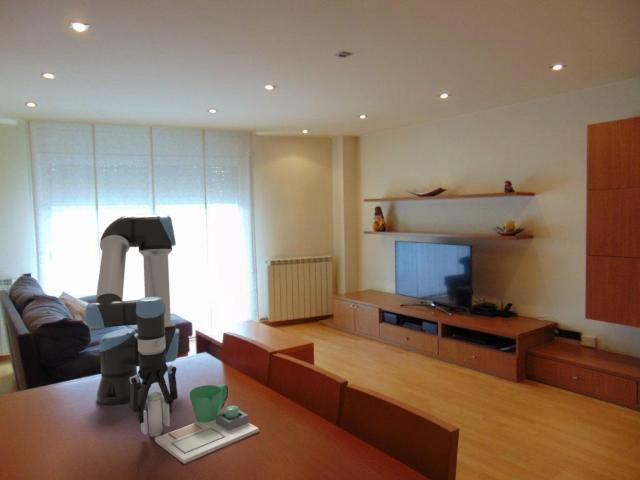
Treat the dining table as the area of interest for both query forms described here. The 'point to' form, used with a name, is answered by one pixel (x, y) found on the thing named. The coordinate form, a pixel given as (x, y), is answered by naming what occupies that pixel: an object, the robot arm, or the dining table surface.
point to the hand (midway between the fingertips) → (155, 428)
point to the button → (231, 412)
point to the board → (205, 436)
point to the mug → (208, 401)
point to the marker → (155, 414)
